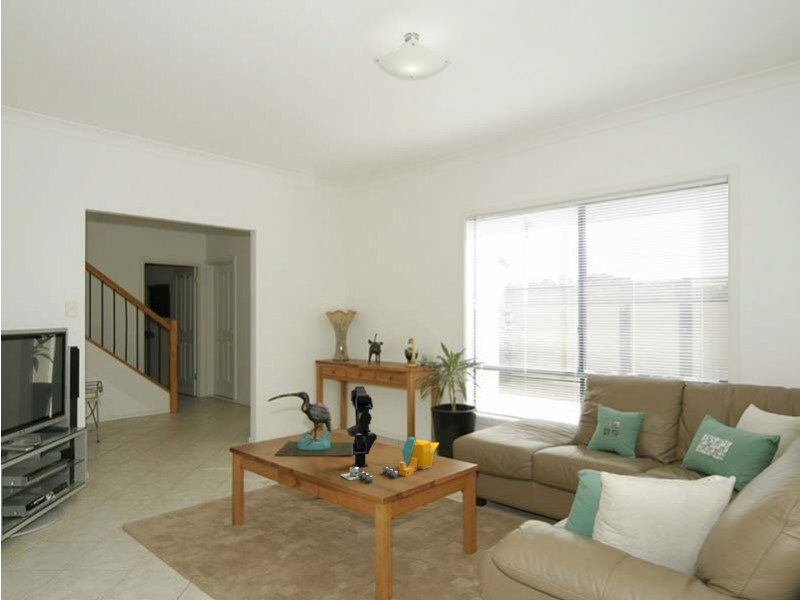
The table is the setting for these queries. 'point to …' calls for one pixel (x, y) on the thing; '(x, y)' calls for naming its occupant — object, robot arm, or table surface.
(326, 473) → the table surface
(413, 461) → the pipe clamp
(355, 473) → the stepped steel cylinder
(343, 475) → the sage mat
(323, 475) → the table surface
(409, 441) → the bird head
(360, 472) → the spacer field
